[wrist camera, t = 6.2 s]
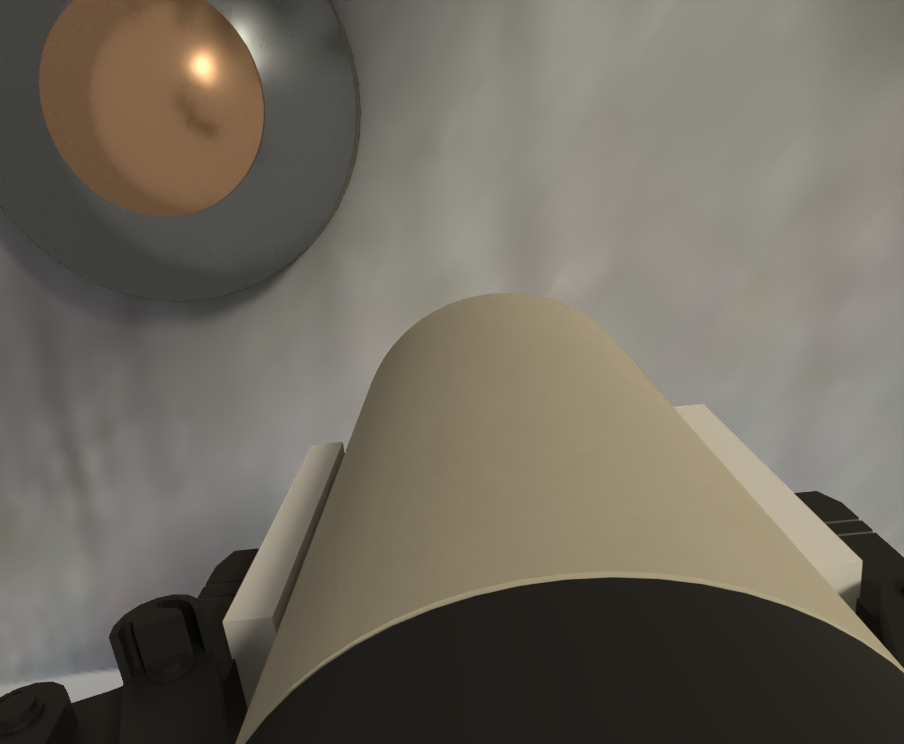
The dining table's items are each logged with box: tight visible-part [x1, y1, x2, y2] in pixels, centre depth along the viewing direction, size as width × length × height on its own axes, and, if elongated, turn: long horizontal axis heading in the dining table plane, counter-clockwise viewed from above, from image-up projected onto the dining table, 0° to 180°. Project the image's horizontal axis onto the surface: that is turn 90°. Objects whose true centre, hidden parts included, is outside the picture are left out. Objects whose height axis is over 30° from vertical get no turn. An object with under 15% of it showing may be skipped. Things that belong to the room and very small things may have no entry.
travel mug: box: [235, 293, 904, 744], centre depth 11 cm, size 8×8×18 cm
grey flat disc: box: [0, 0, 361, 301], centre depth 34 cm, size 20×20×2 cm
